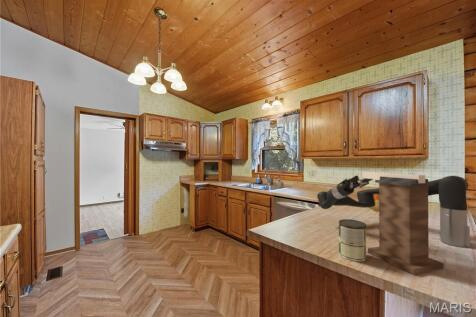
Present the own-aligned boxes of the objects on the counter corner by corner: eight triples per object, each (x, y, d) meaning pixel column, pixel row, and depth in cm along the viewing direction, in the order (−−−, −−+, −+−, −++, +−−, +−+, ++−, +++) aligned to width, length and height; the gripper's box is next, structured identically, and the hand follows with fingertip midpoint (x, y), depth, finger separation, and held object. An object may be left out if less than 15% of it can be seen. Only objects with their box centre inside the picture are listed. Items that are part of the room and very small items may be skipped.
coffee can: (334, 250, 91) (334, 219, 91) (356, 250, 91) (356, 219, 92) (347, 262, 81) (347, 226, 81) (372, 261, 81) (372, 226, 81)
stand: (367, 252, 89) (367, 176, 89) (394, 248, 94) (394, 175, 94) (413, 274, 72) (412, 180, 72) (443, 268, 76) (443, 179, 77)
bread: (393, 212, 160) (393, 194, 160) (376, 211, 163) (375, 193, 163) (378, 206, 185) (378, 189, 185) (363, 205, 187) (363, 189, 187)
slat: (362, 178, 99) (362, 171, 99) (368, 177, 100) (368, 171, 100) (418, 183, 76) (418, 175, 76) (425, 183, 77) (425, 175, 77)
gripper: (355, 196, 113) (379, 184, 99) (334, 196, 109) (356, 184, 95) (350, 183, 116) (372, 170, 103) (329, 183, 112) (350, 170, 99)
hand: (364, 177), depth 99 cm, fingers open, 8 cm apart
